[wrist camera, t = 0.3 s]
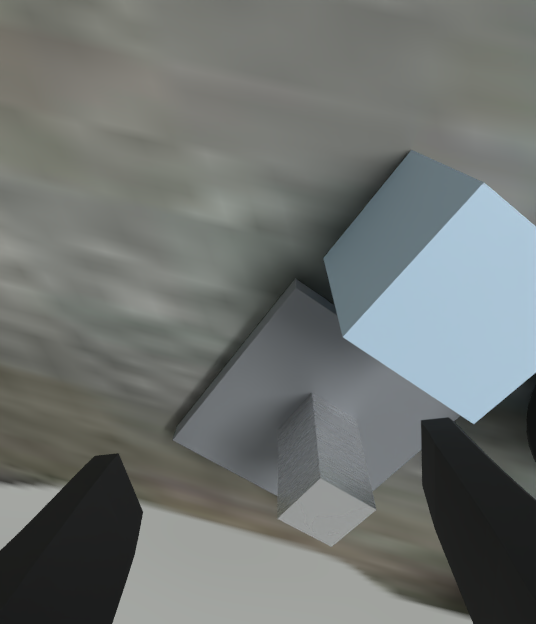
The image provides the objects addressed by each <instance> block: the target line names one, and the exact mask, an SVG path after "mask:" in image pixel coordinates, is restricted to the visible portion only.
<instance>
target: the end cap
mask: <svg viewBox="0 0 536 624" xmlns="http://www.w3.org/2000/svg"><path fill="white" fill-rule="evenodd" d="M526 421H527V436H528V442H529V447H530V449H531V452H532V455H533V458H534V460H535V462H536V385H535V387H534V390H533V392H532V394H531V398H530V401H529V405H528V411H527V419H526Z"/></svg>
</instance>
